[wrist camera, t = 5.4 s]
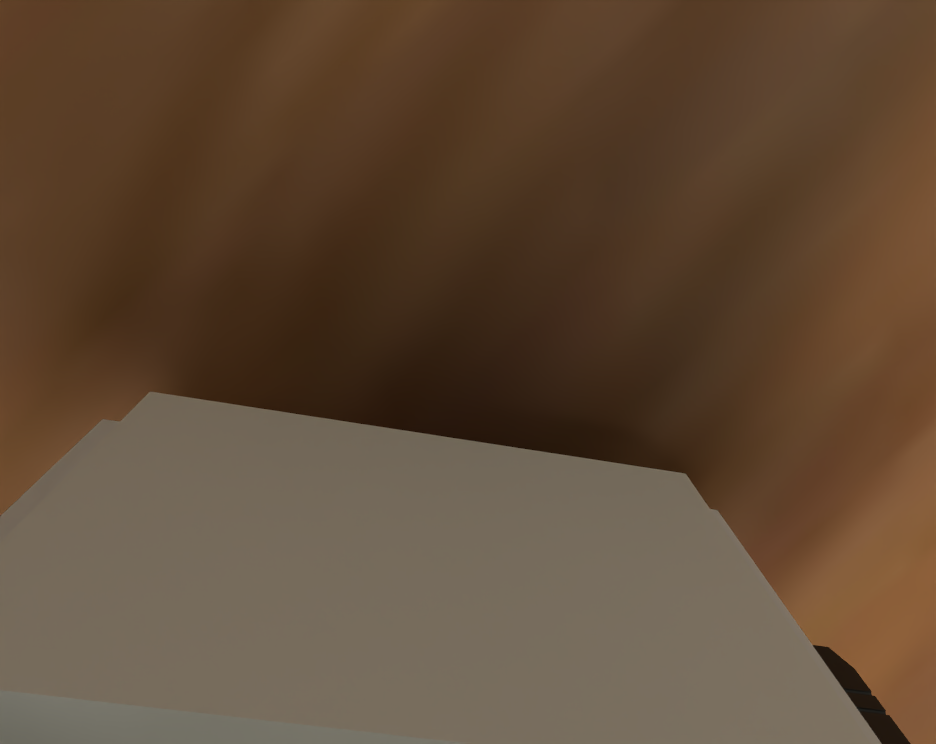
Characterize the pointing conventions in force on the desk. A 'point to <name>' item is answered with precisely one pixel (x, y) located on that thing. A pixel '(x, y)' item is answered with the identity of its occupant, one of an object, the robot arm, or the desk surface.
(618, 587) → the beige rectangular block
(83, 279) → the desk surface
